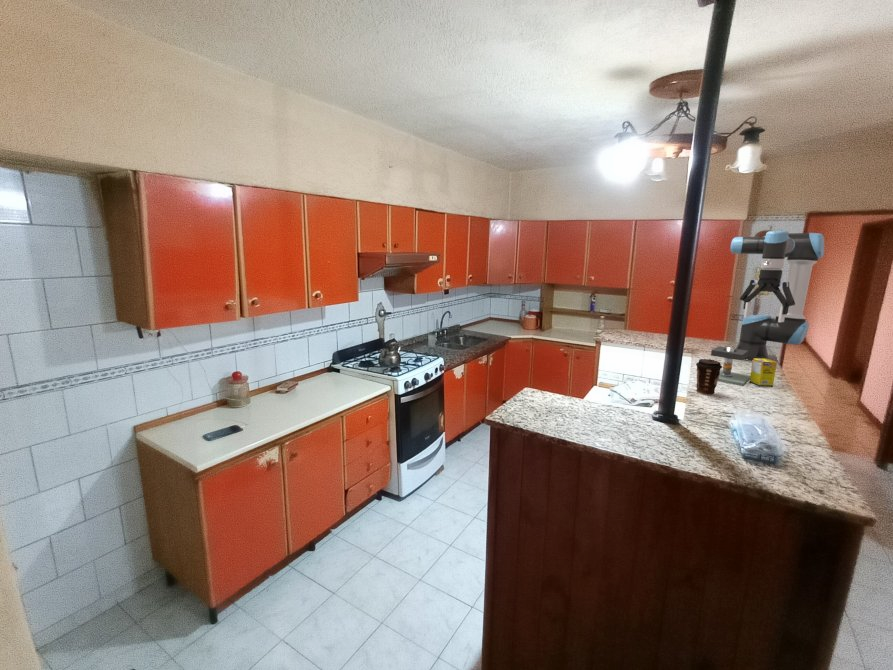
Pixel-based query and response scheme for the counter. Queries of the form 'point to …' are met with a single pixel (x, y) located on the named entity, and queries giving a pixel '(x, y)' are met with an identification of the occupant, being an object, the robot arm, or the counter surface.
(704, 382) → the coffee cup
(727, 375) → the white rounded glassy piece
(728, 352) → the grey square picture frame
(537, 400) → the counter surface
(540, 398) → the counter surface
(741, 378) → the base board
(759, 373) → the supplement box
